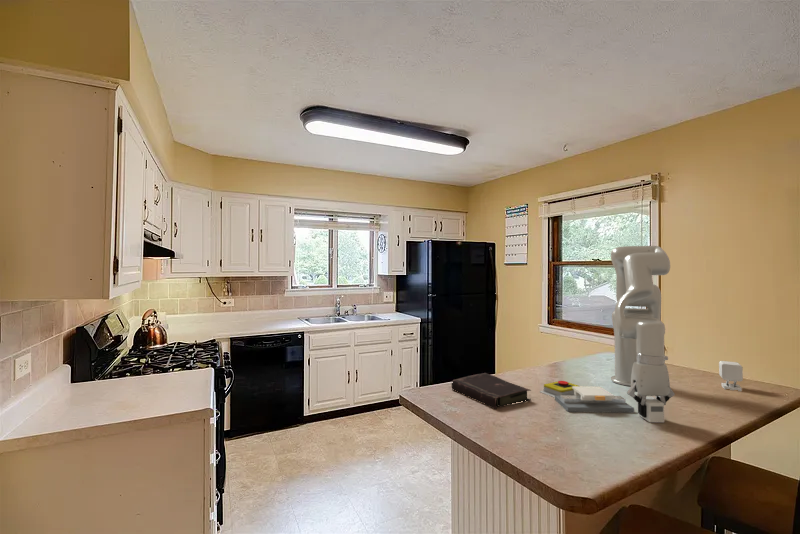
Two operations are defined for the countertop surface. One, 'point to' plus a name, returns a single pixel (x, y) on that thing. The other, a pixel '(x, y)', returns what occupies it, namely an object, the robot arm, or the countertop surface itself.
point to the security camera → (731, 374)
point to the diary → (490, 390)
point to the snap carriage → (592, 393)
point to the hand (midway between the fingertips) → (650, 415)
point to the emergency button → (558, 389)
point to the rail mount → (593, 404)
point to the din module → (654, 410)
